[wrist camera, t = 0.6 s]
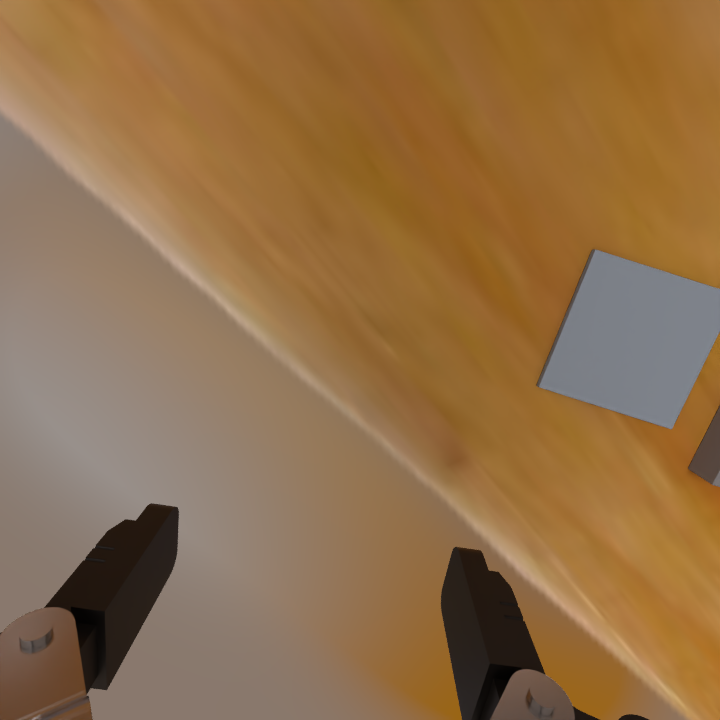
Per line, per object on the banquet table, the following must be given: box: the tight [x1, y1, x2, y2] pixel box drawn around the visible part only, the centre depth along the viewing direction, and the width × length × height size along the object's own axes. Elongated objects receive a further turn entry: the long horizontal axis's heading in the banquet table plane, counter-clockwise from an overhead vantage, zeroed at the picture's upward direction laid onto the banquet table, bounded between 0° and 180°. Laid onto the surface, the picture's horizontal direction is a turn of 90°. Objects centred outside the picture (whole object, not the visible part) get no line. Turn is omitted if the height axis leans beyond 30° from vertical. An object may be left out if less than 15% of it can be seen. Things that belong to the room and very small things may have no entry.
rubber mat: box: [537, 250, 720, 429], centre depth 37 cm, size 12×12×1 cm
